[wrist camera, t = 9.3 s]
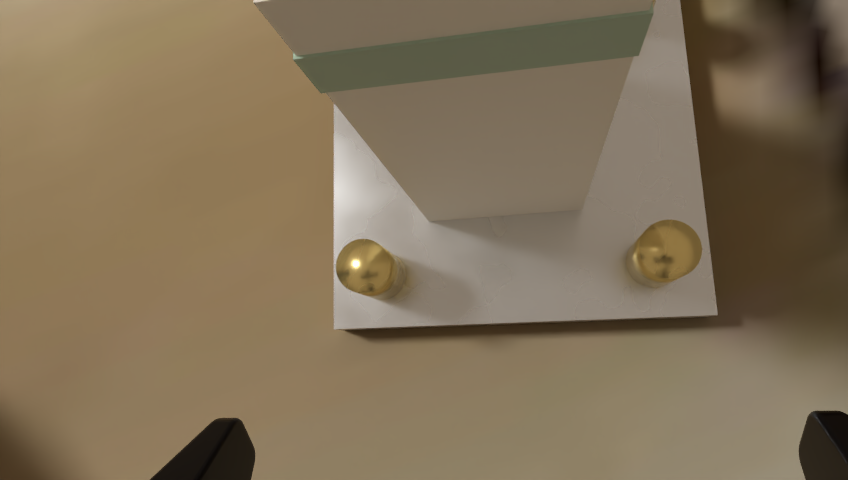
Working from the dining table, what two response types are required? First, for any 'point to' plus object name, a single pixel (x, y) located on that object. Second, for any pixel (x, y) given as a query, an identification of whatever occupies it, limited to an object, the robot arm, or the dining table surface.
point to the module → (473, 91)
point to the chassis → (541, 226)
